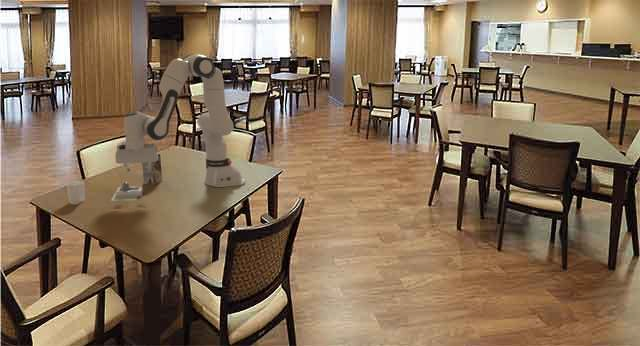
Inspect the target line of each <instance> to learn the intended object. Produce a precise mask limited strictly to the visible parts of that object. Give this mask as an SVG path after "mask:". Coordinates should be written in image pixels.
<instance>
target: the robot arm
mask: <svg viewBox="0 0 640 346" xmlns="http://www.w3.org/2000/svg"><path fill="white" fill-rule="evenodd" d="M190 76H194V77H200V78H201V80H202V83H203V84H202V88H203V89H202V90H203V103H204V106H206V109H207V112H204V113H201V114H200V115H199V117H198V120H197V124H198V127H199V128H200V129H201V131H202V136H203V139H204V142H205V154H206V158H205V168H206V171H205V173H206V174H205V179H204V185H206V186H208V187H209V186H210V187H214V188H224V187H233V186H234V187H235V186H244V185H245V183H246V179H245V178H244V177H242V175H241V171H240V170H239V169H238V168H237V167H235V166H234V165H232V160H231V158H230V157H227V156H228V155H227V150H228V149H227V143H226V141H225V140H224V138H223V136H224V137H225V136H228V135H231V133H232V132H233V131H234V122H233V120H232V118H231V117H230V115H229V112H228V109H227V105H226V97H225V82H224V78H223V72H222V70H220V68H218V67H216V66H215V64H214V62H213V60H212V59H211V58H210V57H208V56H207V55H203V54H198V53H197V54H188V55H187V56H185V57H184V58H182V59H181V58H174V59H172V61H171V62H170V63H169V64H168V66H167V67H166V69H165V71H164V72H163V75H162V76H161V79H160V81H159V85H158V86H159V91H160V93H161V95H162V102H161V106H160V107H159V110H158V112H157V115H156V116H152V115H147V114H145V113H142V112H140V111H137V110H135V111H129V112H127V113H126V114H125V115H124V117H123V128H124V132H125V141H121V142H119V143H118V144H116V151H115V155H114V156H115V163H116V164H118V165H119V164H121V165H122V164H123V166H124V168H125V169H126V172H131V167H130V166H128V164H136V163H137V164H139V163H142V162H148V164H149V166H147V167H146V170H147V171H148V170H150V165H151V162H156V161H157V160H158V154H159V153H158V150H159V147H158V145H157V144H155V143H146V142H145V141H146V140H145V136H148V137H149V138H151V139H153V140H154V141H161V140H164V139H165V138H167V135H168V133H169V130H170V121H171V118H172V116H173V113H174V111H175V108H176V106H177V103H178V99H179V97H180V94H181V92H182V89H183V87H184V85H185V83H186V81H187V79H188V78H189V77H190Z"/></svg>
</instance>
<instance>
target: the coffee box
mask: <svg viewBox="0 0 640 346" xmlns="http://www.w3.org/2000/svg"><path fill="white" fill-rule="evenodd" d="M157 154H158V160H157V161H156V162H151V165H150V170H148V171H147V170H146V167H147V166H149V164H148V162H141V164H142V165H141V166H142V177H143V184H144V185H156V184H158V183H163V176H162V175H163V174H162V164H161V163H162V162H161V161H162V160H161V154H160V153H157Z"/></svg>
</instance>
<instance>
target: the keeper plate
mask: <svg viewBox="0 0 640 346" xmlns="http://www.w3.org/2000/svg"><path fill="white" fill-rule="evenodd" d="M116 191H117V189H116ZM116 191H115V192H114V194H113V196H112V198H111V200H110V202H116V201H117V202H118V201H137V200H138V197H118V198H116Z"/></svg>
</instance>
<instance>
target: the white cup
mask: <svg viewBox="0 0 640 346" xmlns="http://www.w3.org/2000/svg"><path fill="white" fill-rule="evenodd" d="M65 185H66V190H67V197H68V200H69V205H80V204H81V203H83V202H85V200H86V199H85V198H86V197H85V195H86V194H85V193H86V192H85V191H86V190H85V182H84V181H83V180H72V181H69V182H66V184H65Z"/></svg>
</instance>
